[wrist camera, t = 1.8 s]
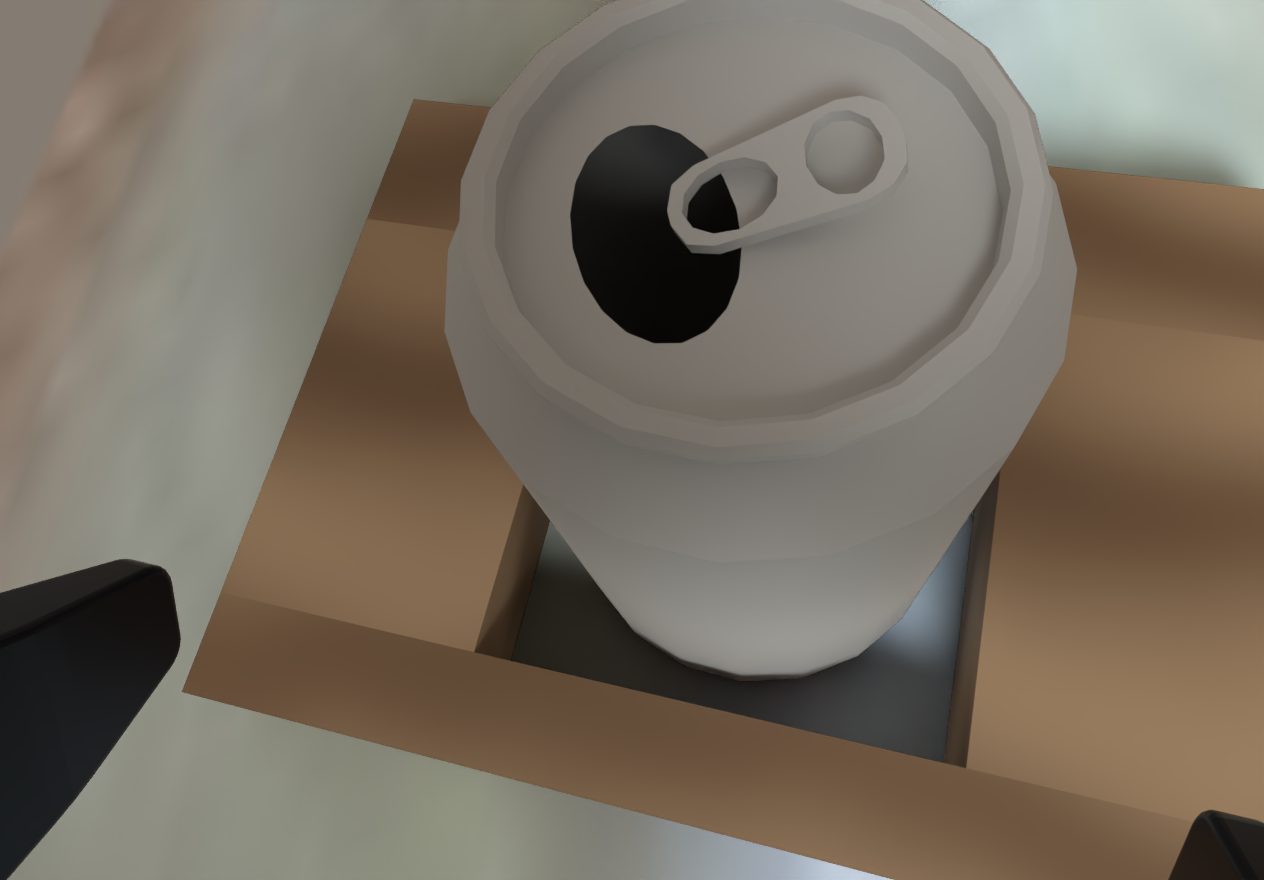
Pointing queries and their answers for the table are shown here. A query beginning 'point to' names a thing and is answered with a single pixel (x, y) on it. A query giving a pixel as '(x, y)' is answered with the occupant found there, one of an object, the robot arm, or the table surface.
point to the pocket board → (769, 752)
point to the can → (759, 310)
